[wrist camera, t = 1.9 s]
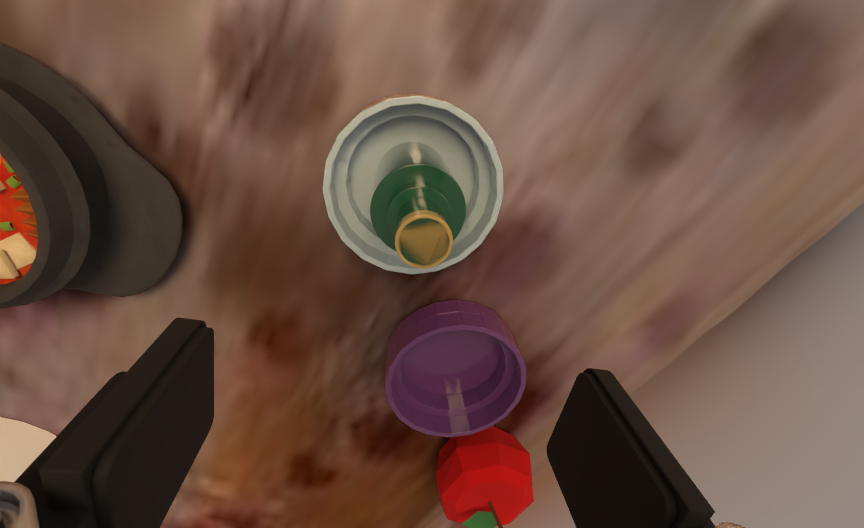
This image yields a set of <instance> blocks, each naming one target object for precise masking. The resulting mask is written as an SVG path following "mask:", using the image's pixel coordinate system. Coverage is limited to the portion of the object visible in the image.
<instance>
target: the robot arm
mask: <svg viewBox="0 0 864 528" xmlns="http://www.w3.org/2000/svg"><path fill="white" fill-rule="evenodd" d="M213 418H214V331H213V329H212V328H206V323H205V322H204V321H201V320H193V319H185V318H176V319H175V320H174V321H173V322H172V323H171V324H170V325H169V326H168V327H167V328H166V329H165V330H164V332H163V333H162V334H161V335H160V336H159V337H158V338H157V339H156V340H155V342H154V343H153V344H152V345H151V346H150V347H149V348H148V349H147V350H146V352H145V353H144V354H143V355H142V356H141V357H140V358H139V359H138V360H137V362H136V363H135V364H134V365H133V366H132V367H131V368H130V369H129V370H128V372H120V373H117V374H116V375H115V376H113V377H112V378H111V379H110V380H109V381H108V382H107V383H106V384H105V385H104V386H103V388H102V389H101V390H100V391H99V392H98V393H97V394H96V395H95V396H94V397H93V398H92V399H91V400H90V401H89V403H88V404H87V405H86V406H85V407H84V408H83V409H82V410H81V411H80V412H79V413H78V414H77V415H76V416H75V417H74V419H73V420H72V421H71V422H70V423H69V424H68V425H67V426H66V427H65V428H64V429H63V430H62V431H61V432H60V434H59V435H58V436H57V437H56V438H55V439H54V440H53V441H52V442H51V443H50V444H49V445H48V446H47V447H46V449H45V450H44V451H43V452H42V453H41V454H40V455H39V456H38V457H37V458H36V459H35V460H34V461H33V462H32V463H31V465H30V466H29V467H28V468H27V469H26V470H25V471H24V472H23V473H22V474H21V475H20V476H19V477H18V478H17V480H16V481H15V482H7V481H0V528H159V527H160V525H161V524H162V522H163V520H164V518H165V516H166V514H167V512H168V510H169V508H170V506H171V504H172V502H173V500H174V498H175V497H176V495H177V493H178V491H179V489H180V487H181V485H182V483H183V481H184V479H185V477H186V475H187V473H188V471H189V469H190V468H191V466H192V464H193V462H194V460H195V458H196V456H197V454H198V452H199V450H200V448H201V446H202V444H203V442H204V440H205V439H206V437H207V435H208V433H209V431H210V428H211V426H212V422H213ZM547 456H548V459H549V462H550V464H551V467H552V469H553V471H554V474H555V476H556V479H557V481H558V484H559V486H560V489H561V491H562V493H563V496H564V498H565V501H566V503H567V506H568V508H569V511H570V513H571V515H572V518H573V520H574V523H575V525H576V528H745V527H743V526H741V525H737V524H734V523H721V524H719V525H718V526H716V527H715V526H714V524H713V523H712V521H711V520H710V518H711V517H712V515H713V514H714V512H715V511H714V510H713V508H712V507H711V506H710V504H709V503H708V502H707V500H706V499H705V498H704V496H703V495H702V494H701V492H700V491H699V490H698V489H697V487H696V485H695V484H694V483H693V482H692V480H691V479H690V477H689V476H688V475H687V474H686V472H685V471H684V469H683V468H682V467H681V466H680V464H679V463H678V461H677V460H676V459H675V457H674V456H673V455H672V453H671V452H670V450H669V449H668V448H667V447H666V445H665V444H664V442H663V441H662V440H661V438H660V437H659V436H658V435H657V433H656V432H655V430H654V429H653V428H652V426H651V425H650V424H649V422H648V421H647V420H646V418H645V417H644V416H643V414H642V413H641V411H640V410H639V409H638V408H637V406H636V405H635V403H634V402H633V401H632V399H631V398H630V397H629V395H628V394H627V393H626V391H625V390H624V389H623V387H622V386H621V385H620V383H619V382H618V381H617V379H616V378H615V376H614V375H613V374H612V373H611V372H610V371H607V370H600V369H592V368H588V369H586V370H585V371H584V372H583V373H580V374H579V375H578V376H577V378H576V381H575V383H574V385H573V387H572V390H571V392H570V394H569V396H568V399H567V401H566V403H565V405H564V408H563V410H562V412H561V414H560V417H559V419H558V421H557V424H556V426H555V428H554V430H553V433H552V435H551V437H550V439H549V442H548V444H547Z"/></svg>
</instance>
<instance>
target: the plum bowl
mask: <svg viewBox="0 0 864 528" xmlns="http://www.w3.org/2000/svg"><path fill="white" fill-rule="evenodd" d="M525 386H526V365H525V363H524V361H523V358H522V356H521V354H520V351H519V349H518V347H517V345H516V342H515V340H514V338H513V336H512V334H511V331H510V329H509V327H508V325H507V323H506V322H505V321H504V320H503V319H502V318H501V317H500V316H499V315H498V314H497V313H496V312H494V311H493V310H491V309H489V308H487V307H485V306H483V305H481V304H479V303H475V302H469V301H462V300H448V301H440V302H435V303H432V304H430V305H427V306H425V307H423V308H420V309H418V310H416V311H414V312H413V313H412V314H410V315H409V316H408V317H407V318H406V319H404V320H403V321H402V322H401V323H400V324H399V325H398V326H397V328H396V329H395V331H394V332H393V334H392V336H391V337H390V339H389V342H388V347H387V352H386V363H385V390H386V395H387V400H388V404H389V405H390V407H391V408H392V410H393V411H394V413H395V414H396V416H397V417H398V418H399V419H400V420H401V421H403V422H404V423H405V424H407V425H408V426H409V427H411V428H412V429H414V430H417V431H420V432H423V433H425V434H428V435H431V436H442V437H457V436H464V435H471V434H474V433H477V432H479V431H482V430H485V429H487V428H490V427H492V426H493V425H495V424H496V423H497V422H499V421H500V420H502V419H503V418H505V417H506V416H507V415H508V414H509V413H510V412H511V411H512V409H513V408H514V407H515V406H516V405H517V403H518V402H519V401H520V398H521V396H522V393H523V391H524V388H525Z"/></svg>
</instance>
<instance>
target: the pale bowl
mask: <svg viewBox="0 0 864 528" xmlns="http://www.w3.org/2000/svg"><path fill="white" fill-rule="evenodd" d="M405 142H419V143H423V144H426V145H428V146H430V147H432V148H433V149H435V150H436V151H437V152H438V153H439V154H440V155H441V156H442V158H443V159H444V161H445V163H446V164H447V166H448V168H449V169H450V171H451V173H452V174H453V176H454V178H455V179H456V181H457V183H458V184H459V186H460V188H461V190H462V192H463V195H464V198H465V203H466V217H465V221H464V224H463V227H462V229H461V231H460V233H459V234H458V236H457V237H456V238H455V240H454V241H453V245H452V249H451V251H450V253H449V255H448V256H447V258H446V259H445V260H444V261H443V262H441V263H440V264H438V265H436V266H434V267H431V268H416V267H413V266H410V265H408V264H407V263H405V262H404V261H403V260H402V259H401V258H400V257H399V255H398V253H397V252H396V251H394V250H393V249H391V248H390V247H388V246H387V245H386V244H385V243H384V242H382V240H381V239H380V238H379V237H378V235H377V234H376V232H375V230H374V228H373V225H372V222H371V216H370V205H371V198H372V193H373V187H374V181H375V176H376V171H377V167H378V164H379V162H380V160H381V158H382V157H383V156H384V154H385V153H386V152H387V151H388V150H390V149H391V148H393V147H394V146H396V145H398V144H401V143H405ZM323 195H324V199H325V204H326V209H327V213H328V217H329V219H330V221H331V223H332V224H333V226H334V228H335V229H336V231H337V233H338V235H339V236H340V238H341V240H342V241H343V242H344V243H345V244H346V245H347V246H348V247H349V248H351V249H352V250H353V251H354V252H355V253H356V254H357V255H358V256H359V257H360V258H362V259H363V260H365V261H367V262H369V263H372V264H374V265H376V266H378V267H380V268H382V269H384V270H387V271H393V272H400V273H406V274H419V273H427V272H435V271H439V270H441V269H443V268H446V267H448V266H450V265H453V264H455V263H457V262H460V261H461V260H463V259H464V258H465V257H466V256H467V255H469V254H470V253H471V252H472V251H474V250H475V249H476V248H477V247H478V246H480V245H481V244H482V242H483V241H484V239H485V238H486V236H487V235H488V233H489V232H490V230H491V229H492V227H493V226H494V224H495V222H496V220H497V216H498V213H499V210H500V206H501V203H502V200H503V168H502V165H501V162H500V159H499V156H498V154H497V151H496V148H495V145H494V143H493V141H492V140H491V138H490V137H489V136H488V134H487V133H486V132H485V131H484V129H483V128H482V127H481V126H480V124H479V123H478V122H477V121H476V119H474V118H473V117H472V116H470V115H468V114H467V113H465V112H464V111H462V110H461V109H459V108H457V107H456V106H454V105H453V104H451V103H449V102H447V101H445V100H443V99H440V98H436V97H432V96H428V95H423V94H419V93H409V94H400V95H391V96H387V97H385V98H383V99H381V100H379V101H377V102H375V103H373V104H371V105H369V106H366V107H365V108H363V109H362V110H361V111H360V112H359V113H358V114H357V115H356V116H355V117H354V118H353V119H352V120H351V121H350V122H349V123H348V124H347V125H346V126H345V128H344V129H343V130H342V131H341V132H340V133H339V134H338V136H337V138H336V140H335V142H334V144H333V147H332V149H331V151H330V153H329V155H328V157H327V159H326V162H325V171H324V180H323Z"/></svg>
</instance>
